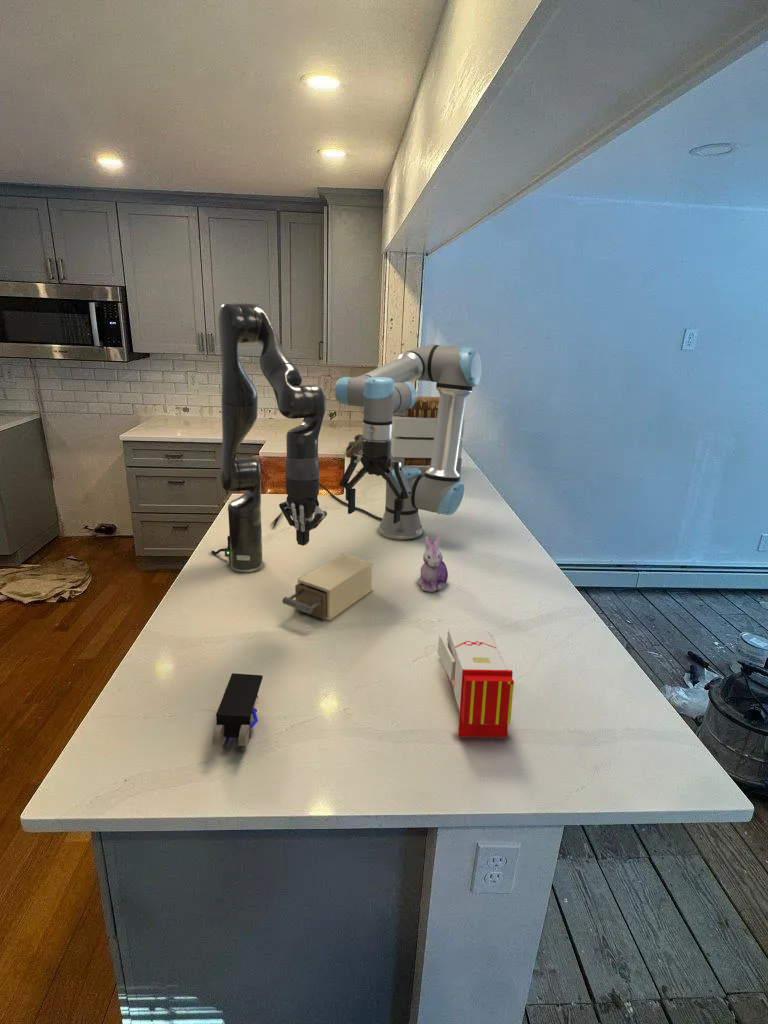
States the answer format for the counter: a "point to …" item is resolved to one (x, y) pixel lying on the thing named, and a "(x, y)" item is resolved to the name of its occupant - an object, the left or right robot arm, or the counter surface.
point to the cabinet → (340, 582)
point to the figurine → (433, 567)
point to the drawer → (308, 600)
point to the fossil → (354, 446)
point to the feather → (276, 520)
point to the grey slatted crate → (417, 434)
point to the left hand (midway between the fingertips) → (302, 544)
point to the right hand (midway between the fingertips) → (373, 517)
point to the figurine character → (237, 710)
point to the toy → (478, 682)
